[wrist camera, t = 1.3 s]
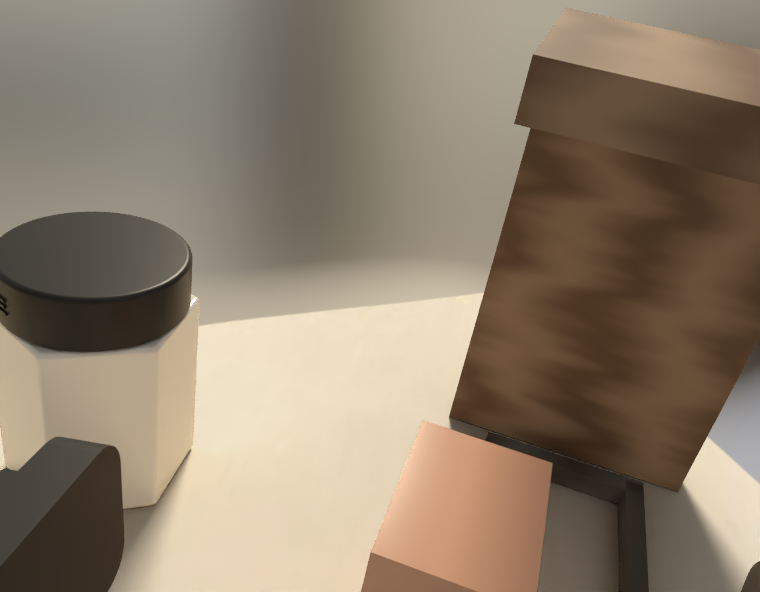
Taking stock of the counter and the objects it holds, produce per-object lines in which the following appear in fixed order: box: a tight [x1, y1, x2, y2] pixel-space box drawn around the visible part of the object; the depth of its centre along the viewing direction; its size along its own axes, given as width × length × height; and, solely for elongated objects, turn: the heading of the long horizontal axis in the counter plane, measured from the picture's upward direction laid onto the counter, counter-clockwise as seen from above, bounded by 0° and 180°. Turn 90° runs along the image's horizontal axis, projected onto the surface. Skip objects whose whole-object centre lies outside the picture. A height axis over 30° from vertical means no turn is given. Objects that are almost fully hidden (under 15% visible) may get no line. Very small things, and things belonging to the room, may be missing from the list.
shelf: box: [449, 8, 760, 592], centre depth 31 cm, size 14×16×24 cm
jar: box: [0, 212, 200, 509], centre depth 33 cm, size 9×8×12 cm
